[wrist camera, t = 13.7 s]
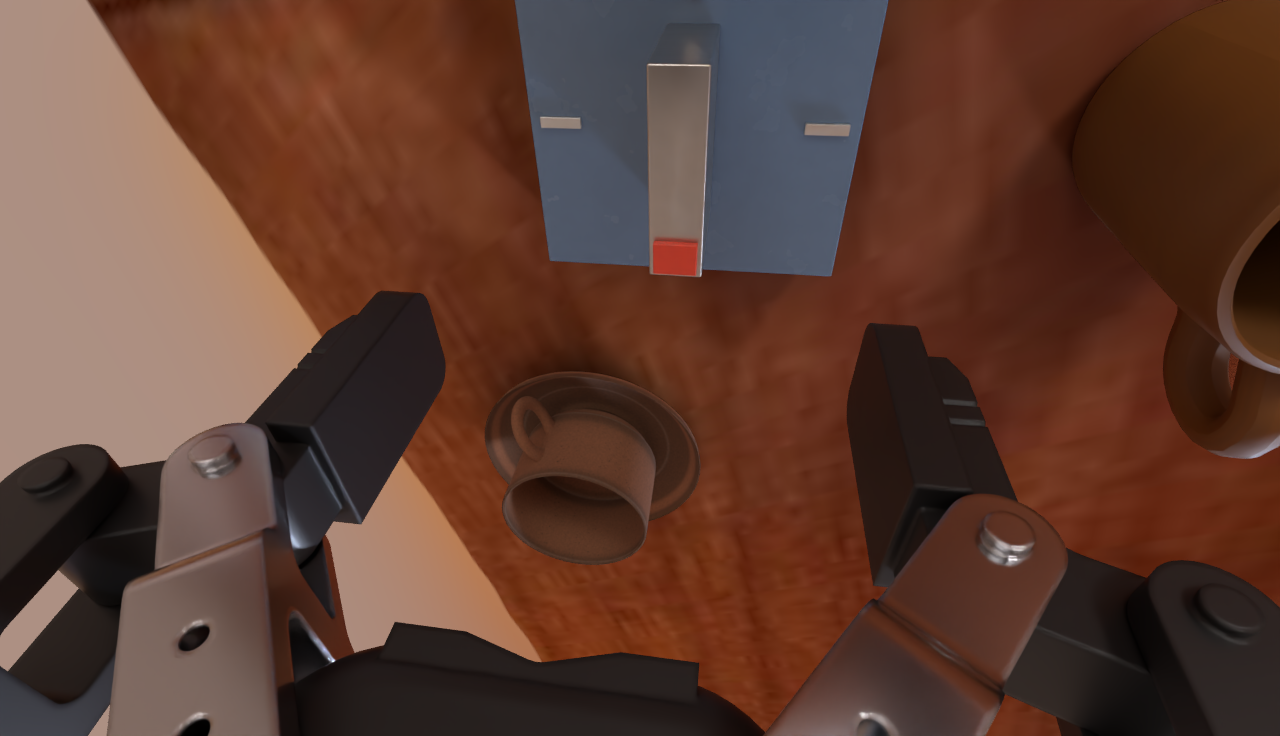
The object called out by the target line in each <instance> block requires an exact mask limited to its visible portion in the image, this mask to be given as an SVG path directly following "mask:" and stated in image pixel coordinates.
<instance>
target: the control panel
mask: <svg viewBox="0 0 1280 736" xmlns="http://www.w3.org/2000/svg"><path fill="white" fill-rule="evenodd" d="M888 1H889V0H515V6H516V13H517V21H518V28H519V36H520V43H521V51H522V58H523V66H524V73H525V80H526V88H527V95H528V103H529V110H530V118H531V125H532V133H533V140H534V148H535V155H536V162H537V170H538V177H539V185H540V192H541V200H542V207H543V215H544V222H545V230H546V237H547V244H548V252H549V259H550V261H563V262H581V263H599V264H617V265H635V266H649V203H648V134H647V63H648V61H649V59H650V57H651V55H652V53H653V51H654V49H655V47H656V46H657V44H658V42H659V40H660V38H661V36H662V34H663V32H664V30H665V28H666V26H667V24H719V25H720V39H719V57H718V75H717V93H716V112H715V130H714V148H713V166H712V184H711V202H710V214H709V222H708V230H707V237H706V245H705V253H704V261H703V268H702V269H707V270H725V271H743V272H761V273H779V274H797V275H815V276H831V275H832V270H833V265H834V261H835V256H836V251H837V246H838V241H839V237H840V232H841V227H842V222H843V217H844V213H845V208H846V203H847V198H848V193H849V188H850V184H851V179H852V174H853V169H854V164H855V160H856V155H857V150H858V145H859V140H860V136H861V131H862V126H863V121H864V116H865V111H866V107H867V102H868V97H869V92H870V87H871V83H872V78H873V73H874V68H875V63H876V58H877V54H878V49H879V44H880V39H881V34H882V30H883V25H884V20H885V15H886V10H887V6H888Z"/></svg>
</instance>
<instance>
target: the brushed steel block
mask: <svg viewBox="0 0 1280 736" xmlns="http://www.w3.org/2000/svg"><path fill="white" fill-rule="evenodd" d="M719 39H720V25H719V24H667V26H666V28H665V30H664V32H663V34H662V36H661V38H660V40H659V42H658V44H657V46H656V47H655V49H654V51H653V53H652V55H651V57H650V59H649V61H648V63H647V134H648V203H649V272H650V274H653V275H670V276H688V277H701V275H702V268H703V261H704V253H705V245H706V237H707V230H708V222H709V214H710V202H711V184H712V166H713V148H714V130H715V112H716V93H717V75H718V57H719Z"/></svg>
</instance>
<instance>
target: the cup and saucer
mask: <svg viewBox="0 0 1280 736" xmlns="http://www.w3.org/2000/svg"><path fill="white" fill-rule="evenodd" d="M485 443H486V448H487V452H488V454H489V457H490V459H491V461H492V463H493V465H494V467H495V468H496V470H497V471H498V473H499V474H500V475H501V476H502V478H503V479H504V480H505V481H506V482H507V483H508V484H509V486H508V489H507V491H506V494H505V496H504V499H503V503H502V511H503V516H504V519H505V521H506V523H507V525H508V526H509V528H510V529H511V530H512V532H513V533H514V534H515V535H516V536H517V537H518V538H519V539H520V540H522V541H523V542H524V543H525V544H527V545H528V546H530V547H531V548H533V549H535V550H537V551H539V552H541V553H543V554H545V555H547V556H550V557H553V558H555V559H559V560H562V561H566V562H571V563H577V564H586V565H600V564H609V563H614V562H618V561H621V560H623V559H626V558H628V557H630V556H631V555H633V554H634V553H636V552H637V551H638V550H639V549H640V548H641V546H642V545H643V543H644V541H645V538H646V534H647V527H648V521H651V520H654V519H657V518H660V517H662V516H664V515H666V514H668V513H670V512H672V511H674V510H675V509H677V508H678V507H679V506H681V505H682V504H683V503H684V502H685V501H686V500H687V499H688V498H689V497H690V495H691V494H692V493H693V491H694V489H695V487H696V485H697V482H698V479H699V475H700V456H699V451H698V447H697V444H696V441H695V438H694V436H693V434H692V432H691V430H690V428H689V427H688V425H687V424H686V422H685V421H684V420H683V419H682V418H681V416H680V415H679V414H678V413H677V412H676V411H675V410H674V409H673V408H672V407H671V406H669V405H668V404H667V403H666V402H665V401H663V400H662V399H660V398H659V397H657V396H656V395H654V394H653V393H651V392H649V391H648V390H646V389H644V388H642V387H640V386H638V385H635V384H633V383H630V382H628V381H625V380H622V379H619V378H616V377H612V376H608V375H604V374H598V373H592V372H580V371H566V372H555V373H549V374H544V375H540V376H536V377H534V378H531V379H528V380H526V381H524V382H522V383H520V384H518V385H516V386H515V387H513V388H512V389H511V390H509V391H508V392H507V393H506V394H505V395H504V396H503V397H502V398H501V399H500V400H499V401H498V402H497V403H496V405H495V406H494V407H493V409H492V411H491V412H490V414H489V416H488V419H487V422H486V427H485Z"/></svg>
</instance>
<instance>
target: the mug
mask: <svg viewBox="0 0 1280 736" xmlns="http://www.w3.org/2000/svg"><path fill="white" fill-rule="evenodd" d="M1072 166H1073V173H1074V177H1075V181H1076V184H1077V187H1078V189H1079V191H1080V193H1081V195H1082V197H1083V199H1084V200H1085V202H1086V203H1087V205H1088V206H1089V207H1090V208H1091V210H1092V211H1093V212H1094V213H1095V215H1096V216H1097V217H1098V218H1099V219H1100V220H1101V221H1102V222H1103V224H1104V225H1105V226H1106V227H1107V228H1108V229H1109V230H1110V231H1111V232H1112V233H1113V234H1114V236H1115V237H1116V238H1117V239H1118V240H1119V241H1120V243H1121V244H1122V245H1123V246H1124V247H1125V249H1126V250H1127V251H1128V252H1129V253H1130V254H1131V255H1132V256H1133V258H1134V259H1135V260H1136V261H1137V262H1138V263H1139V264H1140V265H1141V266H1142V267H1143V268H1144V270H1145V271H1146V272H1147V273H1148V274H1149V275H1150V276H1151V277H1152V278H1153V279H1154V280H1155V281H1156V283H1157V284H1158V285H1159V286H1160V287H1161V288H1162V289H1163V290H1164V291H1165V292H1166V293H1167V295H1168V296H1169V297H1170V298H1171V299H1172V300H1173V301H1174V302H1175V303H1176V304H1177V305H1178V311H1177V316H1176V319H1175V322H1174V324H1173V326H1172V329H1171V331H1170V334H1169V337H1168V340H1167V343H1166V348H1165V353H1164V361H1163V376H1164V385H1165V390H1166V395H1167V398H1168V401H1169V404H1170V407H1171V410H1172V412H1173V414H1174V416H1175V417H1176V419H1177V421H1178V423H1179V425H1180V427H1181V428H1182V430H1183V431H1184V432H1185V433H1186V434H1187V435H1188V437H1189V438H1190V439H1191V440H1192V441H1193V442H1194V443H1196V444H1198V445H1200V446H1201V447H1203V448H1205V449H1206V450H1208V451H1210V452H1212V453H1214V454H1216V455H1220V456H1225V457H1233V458H1244V459H1249V458H1255V457H1260V456H1261V455H1263V454H1265V453H1267V452H1269V451H1271V450H1273V449H1275V448H1277V447H1278V446H1280V0H1228V1H1225V2H1221V3H1218V4H1214V5H1212V6H1209V7H1207V8H1204V9H1202V10H1199V11H1196V12H1194V13H1192V14H1190V15H1188V16H1186V17H1184V18H1182V19H1180V20H1178V21H1176V22H1174V23H1173V24H1171V25H1169V26H1168V27H1166V28H1165V29H1163V30H1161V31H1160V32H1158V33H1157V34H1155V35H1154V36H1152V37H1151V38H1150V39H1148V40H1147V41H1146V42H1144V43H1143V44H1142V45H1140V46H1139V47H1138V48H1137V49H1136V50H1134V51H1133V52H1132V53H1131V54H1130V55H1129V56H1128V57H1126V58H1125V59H1124V60H1123V61H1122V62H1121V63H1120V64H1119V65H1118V66H1117V67H1116V68H1115V69H1114V70H1113V72H1112V73H1111V74H1110V75H1109V76H1108V77H1107V79H1106V80H1105V81H1104V82H1103V84H1102V85H1101V86H1100V87H1099V89H1098V90H1097V92H1096V93H1095V95H1094V96H1093V98H1092V100H1091V101H1090V103H1089V104H1088V106H1087V108H1086V110H1085V112H1084V114H1083V116H1082V118H1081V121H1080V123H1079V126H1078V129H1077V131H1076V135H1075V139H1074V144H1073V152H1072ZM1231 353H1232V354H1233V355H1234V356H1236V357H1237V358H1239V363H1238V367H1237V372H1236V376H1235V380H1234V385H1233V389H1232V390H1231V386H1230V382H1229V374H1228V365H1229V358H1230V354H1231Z"/></svg>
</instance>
